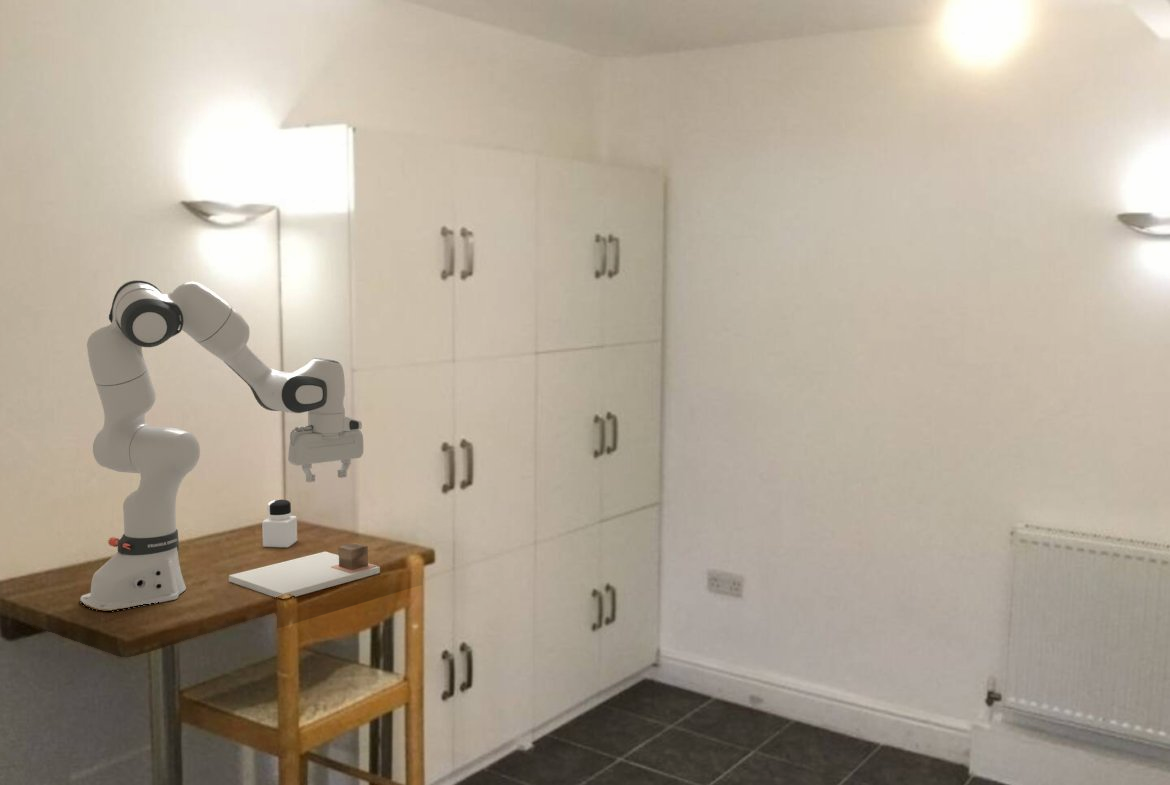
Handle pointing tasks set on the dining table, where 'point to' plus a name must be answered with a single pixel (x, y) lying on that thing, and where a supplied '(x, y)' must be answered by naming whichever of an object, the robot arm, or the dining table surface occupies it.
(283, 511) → the medicine bottle
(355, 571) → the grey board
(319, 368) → the robot arm
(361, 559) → the walnut cube
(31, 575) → the dining table surface
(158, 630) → the dining table surface
